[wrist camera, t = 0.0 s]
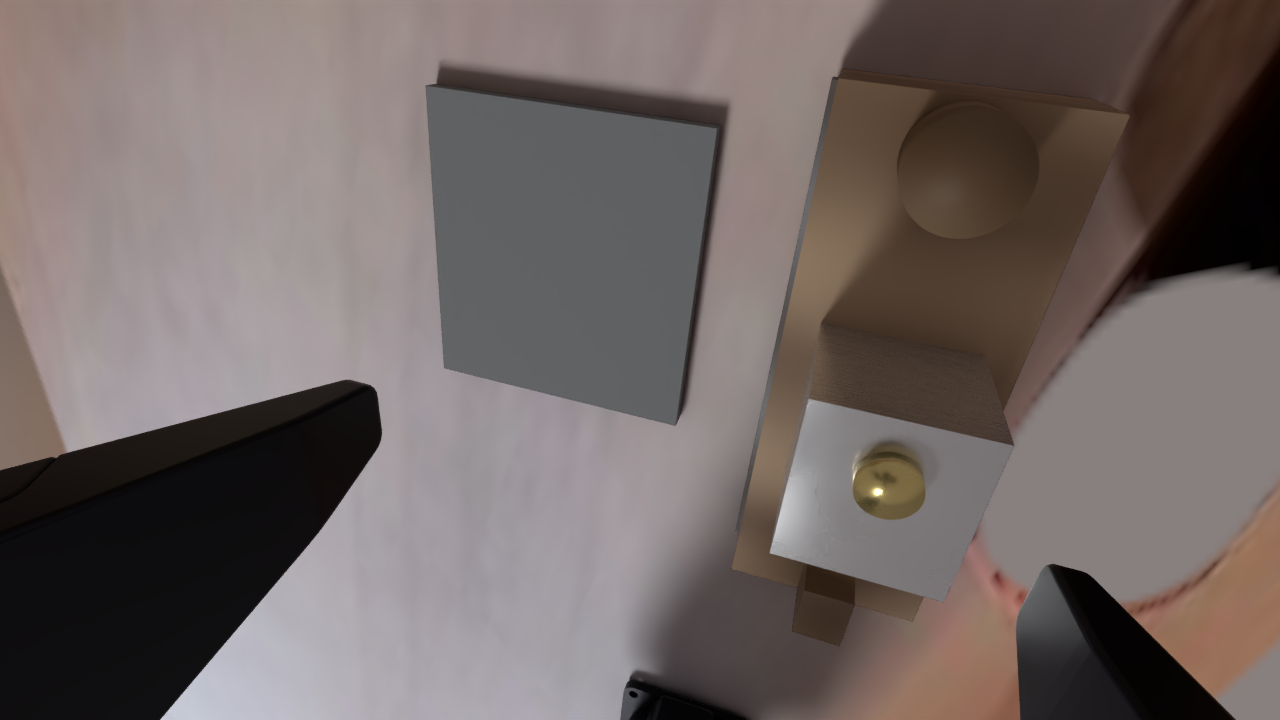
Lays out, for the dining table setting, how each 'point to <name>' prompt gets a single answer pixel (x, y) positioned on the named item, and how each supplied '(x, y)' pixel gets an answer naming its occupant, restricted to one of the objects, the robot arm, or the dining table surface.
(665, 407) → the mat
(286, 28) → the dining table surface
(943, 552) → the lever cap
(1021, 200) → the plane body
